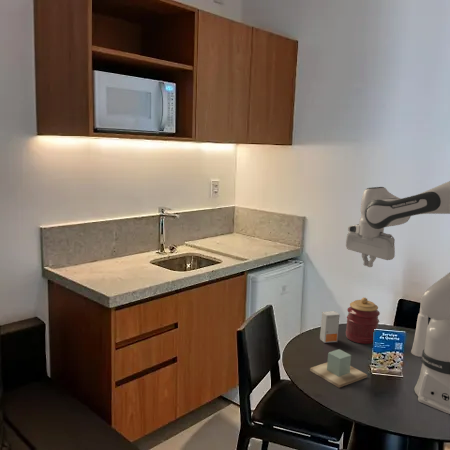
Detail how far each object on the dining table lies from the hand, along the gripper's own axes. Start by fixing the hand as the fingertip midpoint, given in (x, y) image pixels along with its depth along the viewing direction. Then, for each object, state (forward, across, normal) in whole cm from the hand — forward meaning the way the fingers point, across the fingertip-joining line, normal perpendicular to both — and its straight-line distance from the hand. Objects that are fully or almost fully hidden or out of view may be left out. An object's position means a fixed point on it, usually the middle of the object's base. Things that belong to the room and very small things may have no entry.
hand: (367, 266), depth 182 cm
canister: (+35, +10, -12) cm, 39 cm away
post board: (+35, -7, +20) cm, 41 cm away
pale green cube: (+34, -7, +20) cm, 40 cm away
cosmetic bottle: (+35, -12, -20) cm, 42 cm away
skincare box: (+35, +15, +2) cm, 38 cm away
